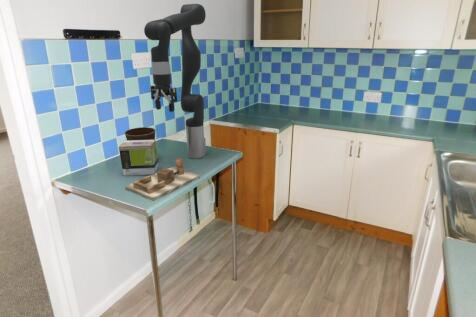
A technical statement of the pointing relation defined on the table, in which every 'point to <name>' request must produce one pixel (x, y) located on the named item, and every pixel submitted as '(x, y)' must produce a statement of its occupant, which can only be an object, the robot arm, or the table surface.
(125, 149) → the tea box
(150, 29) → the robot arm
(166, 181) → the walnut block
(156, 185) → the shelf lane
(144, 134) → the plant pot
